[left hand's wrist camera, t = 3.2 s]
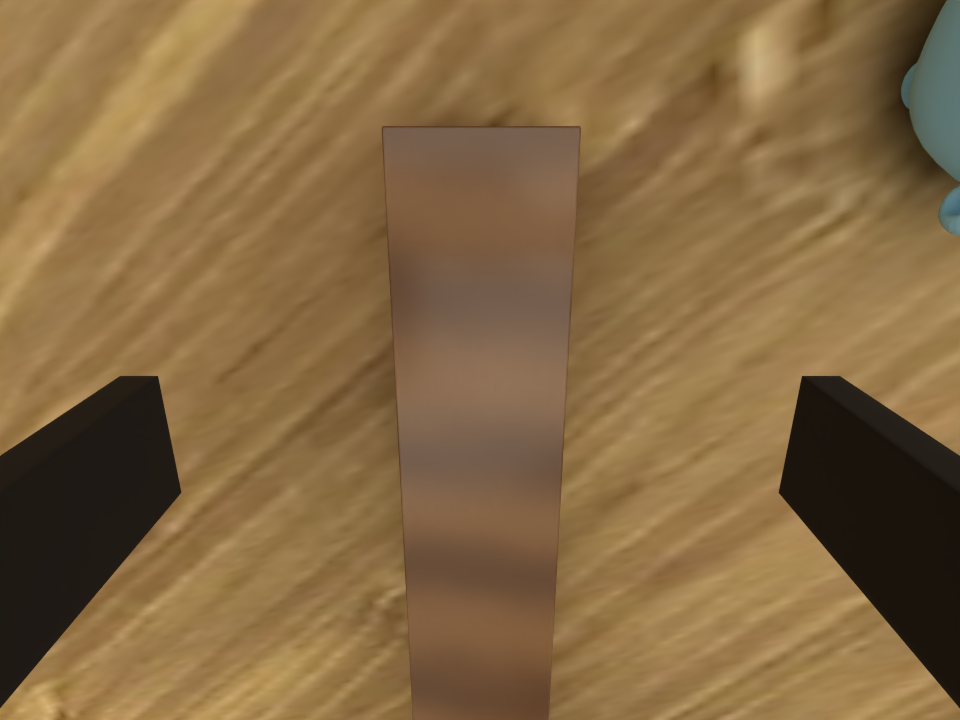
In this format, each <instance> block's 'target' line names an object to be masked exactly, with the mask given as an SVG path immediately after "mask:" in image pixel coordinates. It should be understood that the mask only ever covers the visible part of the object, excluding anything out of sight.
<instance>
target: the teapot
mask: <svg viewBox="0 0 960 720" xmlns="http://www.w3.org/2000/svg"><path fill="white" fill-rule="evenodd" d="M901 96H902V100H903V103H904V104H905V106H906V107H907V108H908V109H909V111H910V117H911V122H912V126H913V129H914V131H915V133H916V135H917V137H918V139H919V141H920V143H921V145H922V146H923V148H924V149H925V150H926V151H927V152H928V154H929V155H930V156H931V157H932V158H933V159H934V160H935V162H936V163H937V164H938V165H939V166H940V167H942V168H943V169H944V170H945V171H946V172H947V173H948V174H949V175H950V176H951V177H953V178H954V179H955V180H956V181H958V182H959V183H960V0H946V2H945V4H944V6H943V8H942V10H941V11H940V13H939V15H938V17H937V19H936V21H935V23H934V25H933V27H932V29H931V32H930V34H929V36H928V38H927V40H926V42H925V45H924V47H923V50H922V52H921V55H920V57H919V59H918V62H917V63H916V64H915V65H913V66H912V67H911V69H910V70H909V71H908V72H907V74H906V76H905V78H904V80H903V83H902V87H901ZM938 218H939V221H940V223H941V225H942V226H943V227H944V228H945V230H947V231H948V232H950V233H952V234H955V235H958V236H960V185H958V186H957V187H955V188H954V189H953V190H951V191H950V192H949V193H948V195H947V196H946V197H945V198H944V200H943V202H942V204H941V206H940V208H939V212H938Z"/></svg>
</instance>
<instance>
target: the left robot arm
mask: <svg viewBox="0 0 960 720" xmlns="http://www.w3.org/2000/svg"><path fill="white" fill-rule="evenodd" d="M180 494H181V489H180V484H179V479H178V474H177V469H176V464H175V459H174V454H173V449H172V444H171V439H170V434H169V429H168V424H167V419H166V414H165V409H164V404H163V399H162V394H161V389H160V384H159V379H158V376H120V377H118V378H117V379H115V380H114V381H112V382H111V383H109V384H108V385H106V386H105V387H103V388H102V389H100V390H99V391H97V392H96V393H94V394H93V395H91V396H90V397H88V398H87V399H85V400H84V401H82V402H81V403H79V404H78V405H76V406H75V407H73V408H72V409H70V410H69V411H67V412H66V413H64V414H63V415H61V416H60V417H58V418H56V419H55V420H53V421H52V422H50V423H49V424H47V425H46V426H44V427H43V428H41V429H40V430H38V431H37V432H35V433H34V434H32V435H31V436H29V437H28V438H26V439H25V440H23V441H22V442H20V443H19V444H17V445H16V446H14V447H13V448H11V449H10V450H8V451H7V452H5V453H4V454H2V455H1V456H0V708H1V707H2V705H3V704H4V703H5V702H6V701H7V699H8V698H9V697H10V696H11V695H12V693H13V692H14V691H15V690H16V689H17V688H18V686H19V685H20V684H21V683H22V682H23V680H24V679H25V678H26V677H27V676H28V674H29V673H30V672H31V671H32V670H33V668H34V667H35V666H36V665H37V664H38V663H39V661H40V660H41V659H42V658H43V657H44V655H45V654H46V653H47V652H48V651H49V649H50V648H51V647H52V646H53V645H54V643H55V642H56V641H57V640H58V639H59V638H60V636H61V635H62V634H63V633H64V632H65V630H66V629H67V628H68V627H69V626H70V624H71V623H72V622H73V621H74V620H75V618H76V617H77V616H78V615H79V614H80V613H81V611H82V610H83V609H84V608H85V607H86V605H87V604H88V603H89V602H90V601H91V599H92V598H93V597H94V596H95V595H96V593H97V592H98V591H99V590H100V589H101V588H102V586H103V585H104V584H105V583H106V582H107V580H108V579H109V578H110V577H111V576H112V574H113V573H114V572H115V571H116V570H117V569H118V567H119V566H120V565H121V564H122V563H123V561H124V560H125V559H126V558H127V557H128V555H129V554H130V553H131V552H132V551H133V549H134V548H135V547H136V546H137V545H138V544H139V542H140V541H141V540H142V539H143V538H144V536H145V535H146V534H147V533H148V532H149V530H150V529H151V528H152V527H153V526H154V524H155V523H156V522H157V521H158V520H159V519H160V517H161V516H162V515H163V514H164V513H165V511H166V510H167V509H168V508H169V507H170V505H171V504H172V503H173V502H174V501H175V499H176V498H177V497H178V496H179V495H180ZM779 494H780V495H781V496H782V497H783V498H784V499H785V501H786V502H787V503H788V504H789V505H790V507H791V508H792V509H793V510H794V511H795V513H796V514H797V515H798V516H799V517H800V519H801V520H802V521H803V522H804V523H805V524H806V526H807V527H808V528H809V529H810V530H811V532H812V533H813V534H814V535H815V536H816V538H817V539H818V540H819V541H820V542H821V544H822V545H823V546H824V547H825V548H826V549H827V551H828V552H829V553H830V554H831V555H832V557H833V558H834V559H835V560H836V561H837V563H838V564H839V565H840V566H841V567H842V569H843V570H844V571H845V572H846V573H847V574H848V576H849V577H850V578H851V579H852V580H853V582H854V583H855V584H856V585H857V586H858V588H859V589H860V590H861V591H862V592H863V594H864V595H865V596H866V597H867V598H868V599H869V601H870V602H871V603H872V604H873V605H874V607H875V608H876V609H877V610H878V611H879V613H880V614H881V615H882V616H883V617H884V618H885V620H886V621H887V622H888V623H889V624H890V626H891V627H892V628H893V629H894V630H895V632H896V633H897V634H898V635H899V636H900V638H901V639H902V640H903V641H904V642H905V643H906V645H907V646H908V647H909V648H910V649H911V651H912V652H913V653H914V654H915V655H916V657H917V658H918V659H919V660H920V661H921V663H922V664H923V665H924V666H925V667H926V668H927V670H928V671H929V672H930V673H931V674H932V676H933V677H934V678H935V679H936V680H937V682H938V683H939V684H940V685H941V686H942V688H943V689H944V690H945V691H946V692H947V693H948V695H949V696H950V697H951V698H952V699H953V701H954V702H955V703H956V704H957V705H958V707H959V708H960V456H959V455H958V454H956V453H955V452H953V451H952V450H950V449H949V448H947V447H946V446H944V445H943V444H941V443H940V442H938V441H937V440H935V439H934V438H932V437H931V436H929V435H928V434H926V433H925V432H923V431H922V430H920V429H919V428H917V427H916V426H914V425H913V424H911V423H910V422H908V421H907V420H905V419H904V418H902V417H900V416H899V415H897V414H896V413H894V412H893V411H891V410H890V409H888V408H887V407H885V406H884V405H882V404H881V403H879V402H878V401H876V400H875V399H873V398H872V397H870V396H869V395H867V394H866V393H864V392H863V391H861V390H860V389H858V388H857V387H855V386H854V385H852V384H851V383H849V382H848V381H846V380H845V379H843V378H842V377H840V376H802V379H801V384H800V389H799V394H798V399H797V404H796V409H795V414H794V419H793V424H792V429H791V434H790V439H789V444H788V449H787V454H786V459H785V464H784V469H783V474H782V479H781V484H780V489H779Z"/></svg>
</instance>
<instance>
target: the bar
mask: <svg viewBox="0 0 960 720" xmlns="http://www.w3.org/2000/svg"><path fill="white" fill-rule="evenodd" d="M580 135H581V127H580V126H383V127H382V143H383V162H384V181H385V200H386V219H387V237H388V256H389V275H390V294H391V313H392V332H393V351H394V370H395V389H396V408H397V427H398V446H399V464H400V483H401V502H402V521H403V540H404V559H405V578H406V597H407V616H408V635H409V654H410V673H411V692H412V710H413V720H548V719H549V701H550V683H551V665H552V646H553V628H554V610H555V592H556V573H557V555H558V537H559V518H560V500H561V482H562V464H563V445H564V427H565V409H566V390H567V372H568V354H569V336H570V317H571V299H572V281H573V262H574V244H575V226H576V208H577V189H578V171H579V153H580Z"/></svg>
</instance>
